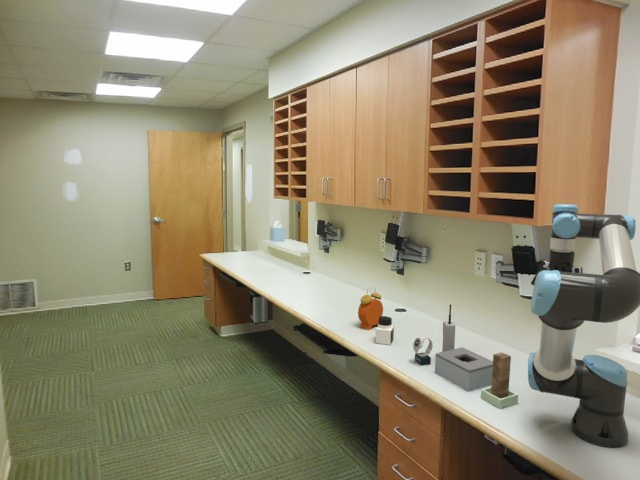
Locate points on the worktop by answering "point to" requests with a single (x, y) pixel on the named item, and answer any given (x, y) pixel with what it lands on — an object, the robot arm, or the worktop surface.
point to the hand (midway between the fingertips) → (557, 311)
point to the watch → (422, 357)
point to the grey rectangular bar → (448, 334)
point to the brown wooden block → (500, 375)
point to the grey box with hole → (464, 368)
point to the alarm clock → (370, 310)
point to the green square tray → (497, 401)
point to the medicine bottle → (385, 331)
